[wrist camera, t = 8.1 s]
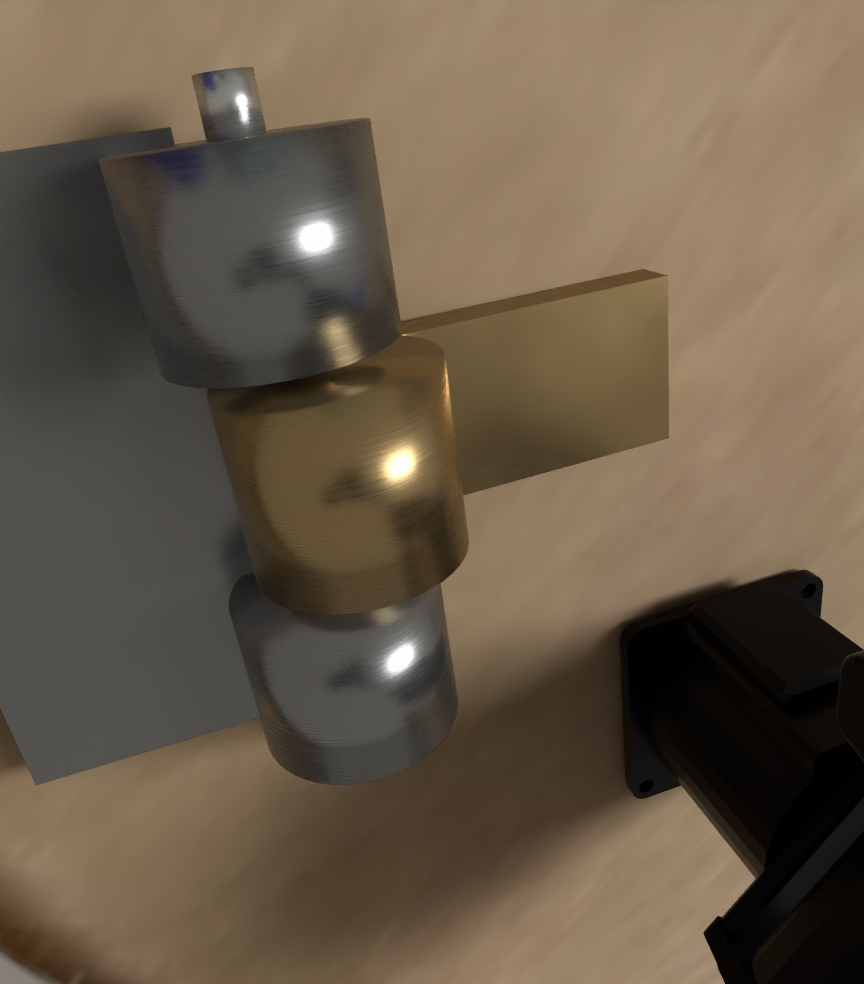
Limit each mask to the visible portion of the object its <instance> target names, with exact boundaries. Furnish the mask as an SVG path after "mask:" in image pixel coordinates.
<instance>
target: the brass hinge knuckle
mask: <svg viewBox="0 0 864 984" xmlns="http://www.w3.org/2000/svg"><path fill="white" fill-rule="evenodd" d="M401 326H402V331H401V334H400V336H399V337H398V339H396V340H395V341H394V342H393V343H392V344H391V345H389V346H388V347H386V348H385V349H383V350H381V351H379V352H378V353H376V354H374V355H372V356H369V357H367V358H365V359H363V360H360V361H358V362H355V363H352V364H350V365H347V366H344V367H341V368H338V369H335V370H331V371H328V372H324V373H320V374H317V375H312V376H308V377H304V378H300V379H295V380H290V381H285V382H279V383H272V384H266V385H258V386H250V387H238V388H217V389H212V388H208V391H207V399H208V403H209V406H210V410H211V414H212V418H213V421H214V425H215V429H216V433H217V436H218V440H219V444H220V448H221V451H222V455H223V459H224V463H225V466H226V470H227V474H228V477H229V481H230V485H231V489H232V492H233V496H234V500H235V504H236V507H237V511H238V515H239V519H240V522H241V526H242V530H243V534H244V537H245V541H246V545H247V549H248V552H249V556H250V560H251V564H252V567H253V571H254V575H255V579H256V582H257V585H258V587H259V589H260V590H261V591H262V593H263V594H264V595H265V596H266V597H267V598H269V599H270V600H271V601H273V602H275V603H276V604H278V605H280V606H283V607H285V608H288V609H291V610H295V611H299V612H304V613H311V614H324V615H338V614H352V613H361V612H366V611H372V610H377V609H381V608H385V607H388V606H392V605H395V604H398V603H401V602H404V601H407V600H409V599H411V598H414V597H416V596H418V595H421V594H423V593H424V592H426V591H428V590H430V589H432V588H434V587H435V586H436V585H438V584H439V583H441V582H442V581H444V580H445V579H446V578H447V577H449V576H450V575H451V574H452V573H453V572H454V571H455V570H456V569H457V568H458V567H459V566H460V564H461V563H462V561H463V559H464V558H465V556H466V553H467V551H468V545H469V538H468V530H467V522H466V515H465V507H464V499H463V495H466V494H470V493H473V492H477V491H480V490H484V489H488V488H491V487H495V486H498V485H502V484H506V483H509V482H513V481H516V480H520V479H524V478H527V477H531V476H534V475H538V474H542V473H545V472H549V471H552V470H556V469H559V468H563V467H567V466H570V465H574V464H577V463H581V462H585V461H588V460H592V459H595V458H599V457H603V456H606V455H610V454H613V453H617V452H621V451H624V450H628V449H631V448H635V447H639V446H642V445H646V444H649V443H653V442H657V441H660V440H664V439H667V438H669V386H668V275H664V274H660V273H656V272H653V271H649V270H645V269H642V270H637V271H633V272H628V273H624V274H619V275H614V276H610V277H605V278H601V279H596V280H592V281H587V282H583V283H578V284H573V285H569V286H564V287H560V288H555V289H551V290H546V291H542V292H537V293H532V294H528V295H523V296H519V297H514V298H510V299H505V300H501V301H496V302H491V303H487V304H482V305H478V306H473V307H469V308H464V309H460V310H455V311H450V312H446V313H441V314H437V315H432V316H428V317H423V318H419V319H414V320H409V321H405V322H401Z"/></svg>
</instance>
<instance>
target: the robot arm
mask: <svg viewBox="0 0 864 984" xmlns="http://www.w3.org/2000/svg"><path fill="white" fill-rule="evenodd" d="M804 587H805V588H804ZM803 588H804V589H803ZM822 593H823V582H822V580H821V579H820V578H819V577H818V576H816V575H815V574H813V573H812V572H810V571H808V570H800V571H797V572H794V573H791V574H787V575H784V576H781V577H778V578H774V579H771V580H768V581H765V582H762V583H758V584H755V585H752V586H749V587H745V588H742V589H739V590H736V591H732V592H729V593H726V594H723V595H719V596H716V597H713V598H710V599H707V600H703V601H700V602H697V603H694V604H690V605H687V606H684V607H681V608H677V609H674V610H671V611H668V612H664V613H661V614H658V615H655V616H652V617H648V618H645V619H642V620H639V621H635V622H633V623H631V624H629V625H628V626H627V627H626V628H625V629H624V631H623V633H622V634H621V639H620V647H621V672H622V698H623V724H624V749H625V775H626V785H627V787H628V788H629V790H630V791H631V793H632V794H633V795H634V796H635V797H636V798H640V799H643V798H647V797H650V796H653V795H656V794H659V793H661V792H664V791H667V790H670V789H672V788H675V787H678V786H682V787H683V788H684V789H685V791H686V792H687V793H688V794H689V796H690V797H691V798H692V799H693V801H694V802H695V803H696V804H697V806H698V807H699V808H700V809H701V811H702V812H703V813H704V814H705V816H706V817H707V818H708V819H709V821H710V822H711V823H712V824H713V826H714V827H715V828H716V829H717V831H718V832H719V833H720V834H721V836H722V837H723V838H724V839H725V841H726V842H727V843H728V844H729V846H730V847H731V848H732V849H733V851H734V852H735V853H736V854H737V856H738V857H739V858H740V859H741V861H742V862H743V863H744V864H745V866H746V867H747V868H748V870H749V871H750V872H751V873H752V875H753V876H754V877H755V878H756V879H755V880H754V882H753V883H752V884H751V885H750V886H749V887H748V888H747V890H746V891H745V892H744V893H743V894H742V895H741V896H740V897H739V899H738V900H737V901H736V902H735V903H734V904H733V905H732V907H731V908H730V909H729V910H728V911H727V912H726V913H725V915H724V916H723V917H720V916H717V917H716V919H715V920H714V921H713V922H712V923H711V924H710V925H709V926H708V928H707V929H706V930H705V931H704V936H705V938H706V940H707V943H708V945H709V947H710V949H711V951H712V953H713V956H714V958H715V960H716V962H717V964H718V965H717V966H718V969H719V971H720V974H721V976H722V978H723V980H724V982H725V984H864V650H863V649H862V648H861V647H859V646H858V645H857V644H855V643H854V642H852V641H851V640H850V639H848V638H847V637H846V636H844V635H843V634H842V633H840V632H839V631H838V630H836V629H835V628H834V627H832V626H831V625H829V624H828V623H827V622H825V621H824V620H823V619H821V618H820V615H821V604H822ZM642 636H643V638H642V639H641V640H640V641H639V642H637V643H636V641H637V640H638V639H639V638H640V637H642Z"/></svg>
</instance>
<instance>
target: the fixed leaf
mask: <svg viewBox="0 0 864 984" xmlns="http://www.w3.org/2000/svg"><path fill="white" fill-rule="evenodd" d="M192 80H193V85H194V89H195V93H196V98H197V102H198V106H199V110H200V115H201V119H202V123H203V128H204V132H205V136H206V140H201V141H195V142H188V143H182V144H176V145H175V144H174V140H173V136H172V132H171V128H170V127H168V128H162V129H155V130H148V131H142V132H135V133H128V134H121V135H115V136H108V137H101V138H94V139H88V140H81V141H74V142H68V143H61V144H54V145H47V146H41V147H34V148H27V149H21V150H14V151H7V152H0V709H1V711H2V713H3V715H4V717H5V720H6V722H7V724H8V726H9V728H10V730H11V732H12V735H13V737H14V739H15V741H16V743H17V745H18V747H19V750H20V752H21V754H22V756H23V758H24V760H25V763H26V765H27V767H28V769H29V771H30V773H31V775H32V778H33V780H34V782H35V784H36V785H39V784H42V783H46V782H49V781H52V780H55V779H59V778H62V777H65V776H69V775H72V774H75V773H78V772H82V771H85V770H88V769H92V768H95V767H98V766H101V765H105V764H108V763H111V762H115V761H118V760H121V759H124V758H128V757H131V756H134V755H138V754H141V753H144V752H148V751H151V750H154V749H157V748H161V747H164V746H167V745H171V744H174V743H177V742H180V741H184V740H187V739H190V738H194V737H197V736H200V735H203V734H207V733H210V732H213V731H217V730H220V729H223V728H226V727H230V726H233V725H236V724H240V723H243V722H246V721H250V720H253V719H256V718H259V717H260V719H261V723H262V726H263V730H264V733H265V737H266V740H267V744H268V747H269V750H270V752H271V753H272V755H273V757H274V758H275V759H276V761H277V762H278V763H279V764H280V765H281V766H282V767H283V768H285V769H286V770H287V771H289V772H291V773H292V774H294V775H296V776H298V777H301V778H303V779H306V780H309V781H313V782H317V783H323V784H330V785H349V784H360V783H365V782H371V781H375V780H378V779H382V778H386V777H388V776H391V775H393V774H396V773H399V772H401V771H403V770H405V769H407V768H409V767H411V766H412V765H414V764H416V763H417V762H419V761H420V760H422V759H423V758H425V757H426V756H427V755H428V754H430V753H431V752H432V751H433V750H434V749H435V748H436V747H437V746H438V745H439V744H440V743H441V742H442V741H443V739H444V738H445V737H446V735H447V734H448V732H449V731H450V729H451V727H452V725H453V723H454V720H455V717H456V714H457V708H458V697H457V690H456V684H455V677H454V670H453V664H452V657H451V651H450V644H449V637H448V631H447V624H446V618H445V611H444V604H443V598H442V591H441V584H440V583H439V584H438V585H436V586H435V587H434V588H432V589H430V590H428V591H426V592H424V593H423V594H421V595H418V596H416V597H414V598H411V599H409V600H407V601H404V602H401V603H398V604H395V605H392V606H388V607H385V608H381V609H377V610H372V611H366V612H361V613H352V614H338V615H324V614H311V613H304V612H299V611H295V610H291V609H288V608H285V607H283V606H280V605H278V604H276V603H275V602H273V601H271V600H270V599H269V598H267V597H266V596H265V595H264V594H263V593H262V591H261V590H260V589H259V587H258V585H257V582H256V579H255V575H254V571H253V567H252V564H251V560H250V556H249V552H248V549H247V545H246V541H245V537H244V534H243V530H242V526H241V522H240V519H239V515H238V511H237V507H236V504H235V500H234V496H233V492H232V489H231V485H230V481H229V477H228V474H227V470H226V466H225V463H224V459H223V455H222V451H221V448H220V444H219V440H218V436H217V433H216V429H215V425H214V421H213V418H212V414H211V410H210V406H209V403H208V399H207V391H208V388H212V389H217V388H238V387H250V386H258V385H266V384H272V383H279V382H285V381H290V380H295V379H300V378H304V377H308V376H312V375H317V374H320V373H324V372H328V371H331V370H335V369H338V368H341V367H344V366H347V365H350V364H352V363H355V362H358V361H360V360H363V359H365V358H367V357H369V356H372V355H374V354H376V353H378V352H379V351H381V350H383V349H385V348H386V347H388V346H389V345H391V344H392V343H393V342H394V341H395V340H396V339H398V337H399V336H400V334H401V331H402V326H401V320H400V313H399V307H398V300H397V293H396V287H395V280H394V274H393V267H392V260H391V254H390V247H389V240H388V234H387V227H386V221H385V214H384V207H383V201H382V194H381V188H380V181H379V174H378V168H377V161H376V154H375V148H374V141H373V135H372V128H371V121H370V118H359V119H349V120H341V121H333V122H325V123H317V124H309V125H302V126H295V127H288V128H281V129H274V130H267V131H266V127H265V122H264V117H263V112H262V107H261V102H260V98H259V93H258V88H257V83H256V78H255V73H254V68H253V67H242V68H233V69H225V70H218V71H211V72H205V73H200V74H195V75H192Z"/></svg>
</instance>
